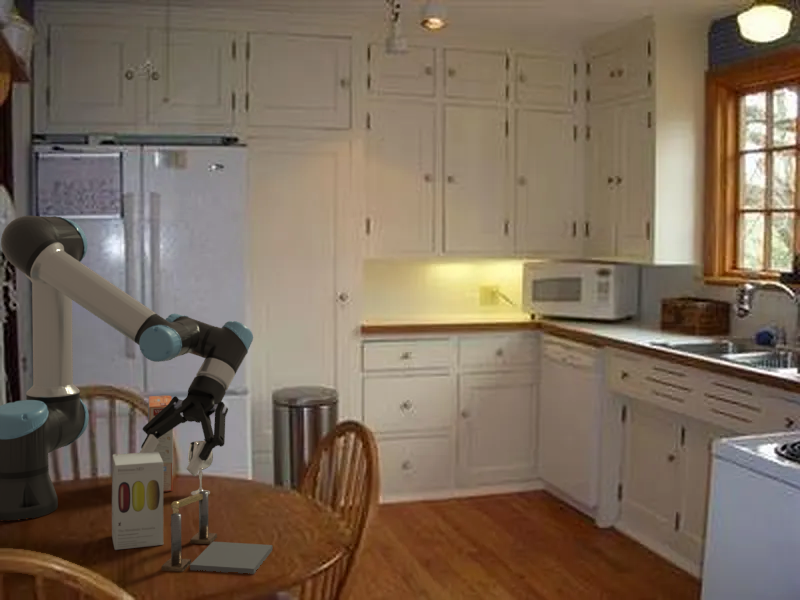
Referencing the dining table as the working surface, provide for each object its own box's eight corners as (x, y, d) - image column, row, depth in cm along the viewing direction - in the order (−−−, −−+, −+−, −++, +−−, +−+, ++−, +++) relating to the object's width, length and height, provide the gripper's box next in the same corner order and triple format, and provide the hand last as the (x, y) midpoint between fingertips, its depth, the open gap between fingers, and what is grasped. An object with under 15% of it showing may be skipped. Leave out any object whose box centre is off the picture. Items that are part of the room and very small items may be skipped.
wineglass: (189, 489, 204) (189, 440, 203) (214, 489, 204) (214, 440, 204) (186, 496, 198) (186, 446, 197) (211, 496, 199) (211, 445, 198)
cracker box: (174, 491, 202) (173, 405, 200) (148, 493, 200) (147, 406, 199) (172, 475, 215) (172, 394, 214) (148, 477, 214) (147, 395, 212)
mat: (190, 570, 155) (190, 564, 155) (213, 546, 167) (212, 541, 167) (253, 574, 153) (253, 568, 153) (272, 550, 165) (272, 545, 165)
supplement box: (113, 551, 164) (112, 465, 162) (111, 535, 172) (110, 453, 171) (165, 545, 167) (164, 460, 166) (159, 529, 176) (159, 449, 175)
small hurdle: (152, 569, 155) (151, 516, 154) (189, 535, 173) (189, 487, 172) (182, 571, 154) (182, 517, 153) (216, 537, 172) (216, 488, 171)
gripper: (265, 398, 183) (222, 485, 171) (175, 389, 194) (128, 470, 182) (250, 378, 178) (204, 466, 166) (158, 369, 189) (109, 451, 177)
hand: (164, 468), depth 174 cm, fingers open, 13 cm apart
